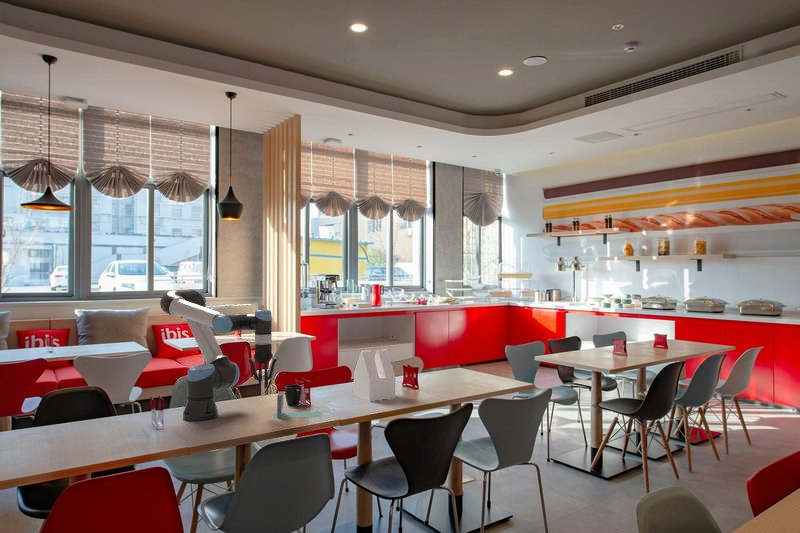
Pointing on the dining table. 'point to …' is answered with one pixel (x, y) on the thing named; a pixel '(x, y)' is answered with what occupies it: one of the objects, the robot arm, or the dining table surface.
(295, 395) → the mug
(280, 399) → the tile
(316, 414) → the mat
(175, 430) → the dining table surface
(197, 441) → the dining table surface
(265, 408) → the dining table surface
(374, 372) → the white slotted block
